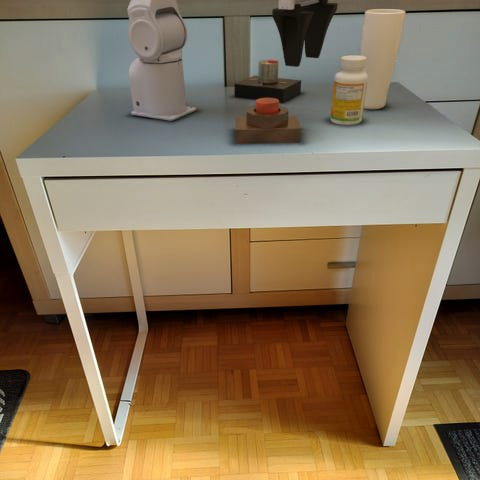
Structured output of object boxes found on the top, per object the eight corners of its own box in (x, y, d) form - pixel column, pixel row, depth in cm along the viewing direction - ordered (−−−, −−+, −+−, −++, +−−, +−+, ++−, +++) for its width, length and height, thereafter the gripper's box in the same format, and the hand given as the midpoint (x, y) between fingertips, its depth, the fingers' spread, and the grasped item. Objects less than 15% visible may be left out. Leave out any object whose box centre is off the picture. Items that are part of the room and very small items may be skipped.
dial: (254, 82, 92) (254, 60, 89) (263, 78, 94) (264, 57, 92) (272, 84, 90) (273, 62, 88) (281, 80, 93) (282, 58, 90)
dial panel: (234, 97, 93) (234, 82, 91) (254, 88, 99) (254, 74, 97) (283, 103, 89) (283, 88, 87) (300, 93, 94) (301, 79, 93)
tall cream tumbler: (387, 112, 82) (405, 13, 73) (349, 110, 84) (362, 12, 75) (390, 103, 87) (407, 9, 78) (354, 100, 89) (367, 8, 79)
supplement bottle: (339, 115, 82) (347, 53, 75) (367, 120, 79) (376, 56, 73) (324, 122, 78) (330, 58, 72) (352, 127, 76) (360, 61, 70)
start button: (256, 116, 69) (256, 103, 68) (255, 109, 72) (255, 97, 71) (279, 115, 69) (279, 103, 68) (277, 109, 72) (278, 97, 71)
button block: (235, 144, 70) (235, 116, 68) (235, 130, 76) (235, 104, 73) (300, 142, 70) (301, 115, 68) (295, 129, 76) (297, 103, 73)
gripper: (316, -52, 55) (307, 72, 64) (355, -53, 65) (343, 55, 74) (265, -51, 58) (263, 68, 67) (310, -52, 68) (303, 52, 76)
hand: (302, 61), depth 70 cm, fingers open, 7 cm apart
